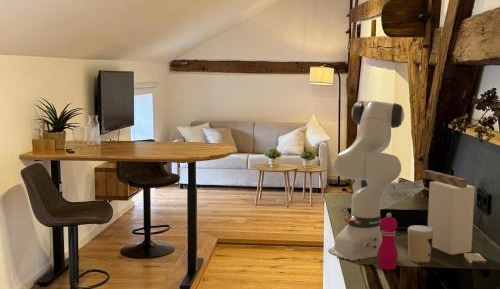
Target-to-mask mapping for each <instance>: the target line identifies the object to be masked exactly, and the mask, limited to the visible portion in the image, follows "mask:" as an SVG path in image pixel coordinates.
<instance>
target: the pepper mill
mask: <svg viewBox="0 0 500 289" xmlns="http://www.w3.org/2000/svg"><path fill="white" fill-rule="evenodd" d="M397 228H398V222H397V220H396V218H394V217H392V213H391V212H387V213H386V216H384V217H383V218H382V217H381V222H380V231H381V236H382V243H381V245H380V247H379V249H378V253H377V256H378V259H379V260H378V262H377V263H378V264H377V265H378V267H379V268H380V269H383V270H394V269H396V268H397V259H398V257H399V252H398V250H397V247H396V244H395V235H396V232H397V231H396V230H397Z"/></svg>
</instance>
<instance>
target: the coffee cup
mask: <svg viewBox="0 0 500 289" xmlns="http://www.w3.org/2000/svg"><path fill="white" fill-rule="evenodd" d="M433 233H434V231H433V229H432V228H431V227H428V225H421V224H419V225H418V224H417V225H416V224H414V225H410V226H408V227H407V248H408V249H407V250H408V259H409V260H410V261H411V262H414V263H419V262H423V264H424V262H426V263H428V262H430V261H431V258H432V257H431V256H432V248H433V247H432V240H433Z"/></svg>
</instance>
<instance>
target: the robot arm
mask: <svg viewBox="0 0 500 289" xmlns="http://www.w3.org/2000/svg"><path fill="white" fill-rule="evenodd" d="M351 118H352V121H353V122H354V124H355V125H358V126H359V127H358V130H357V131H358V132H357V134H356V137H355V140H354V141H353V142H352V144H351V145H349V146H348V147H347V148H346V149H345V150H343V151H340V152H339V153H337V155H336V157H335V159H334V160H333V169H334V172H335V174H336V175H337V176H338V177H340V178H344V179H348V180H352V183H351V190H352V191H353V193H352V195H351V206H350V207H351V212H350V214H349V216H344V217H343V222H346V223H347V225H346V226H345V227H343V228H342V230H341V231H340V232H339V233H338V234H337V235H336V236H335V239H334V246H332V247H330V248H328V250H327V252H328V253H329V254H330V255H332V256H334V257H336V258H340V259H342V258H344V259H343V260H346V259H349V260H348V261H353V260H354V261H359V260H358V259H360V260H365V259H372V258H376V257H378V256H377V253H378V249H379V247H380V245H381V243H382V234H381V232H382V231H381V226H380V222H381V220H382V216H381V210H383V209H387V208H390V207H391V206H392V205H393V204H396V203H398V202H401V201H403V200H406V199H407V200H408V199H410V198H414V195H416V194H418V193H420V192H422V191H423V190H424V189H425V185H424V182H423V180H422V179H418V180H415V181H406V182H405V181H400V182H397V181H396V180H397V179H398V178H399V176H400V175H401V172H402V163H401V160H400V158H398V156H396V155H393V154H389V153H385V152H384V151H385V150H386V149H387V148H388V147H389V145H390V143H391V139H392V129H394V128H399V127H400V126H402V123H403V122H404V120H405V111H404V109H403V106H402V105H401V104H398V103H396V102H395V103H390V102H385V101H377V100H376V101H375V100H366V101H364V100H360V101H357V102H355V103H354V104H353V106H352V109H351Z"/></svg>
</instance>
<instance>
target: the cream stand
mask: <svg viewBox="0 0 500 289" xmlns="http://www.w3.org/2000/svg"><path fill="white" fill-rule="evenodd" d="M428 188H429V190H428V192H429V193H428V208H427V209H428V210H427V211H428V212H427V213H428V214H427V215H428V216H427V226H428V227H431V228H432V229H433V231H434V233H433V240H432V248H435V249H437V250H439V251H441V252H443V253H446V254H448V255H450V256H451V255H452V256H453V255H457V254H459V255H461V254H464V253H466V254H467V253H471V252H472V244H473V243H472V242H473V229H474V228H473V226H474V209H475V207H474V206H475V192H476V191H475V190H476V186H474V185H470V184H467V187H463V188H460V187H456V186H452V185H449V184H445V183H441V182H437V181H434V180H433V181H429V187H428Z"/></svg>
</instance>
